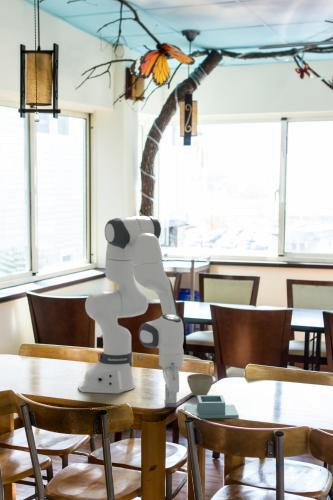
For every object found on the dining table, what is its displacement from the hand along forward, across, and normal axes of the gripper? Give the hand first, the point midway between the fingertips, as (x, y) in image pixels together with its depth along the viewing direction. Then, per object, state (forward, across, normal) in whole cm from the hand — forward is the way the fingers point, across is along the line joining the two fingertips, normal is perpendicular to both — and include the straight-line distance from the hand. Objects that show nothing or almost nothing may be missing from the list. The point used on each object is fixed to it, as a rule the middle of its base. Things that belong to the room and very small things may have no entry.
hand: (170, 397), depth 256 cm
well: (+4, -7, -14) cm, 16 cm away
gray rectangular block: (+3, +1, 0) cm, 3 cm away
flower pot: (+4, +16, -13) cm, 21 cm away
